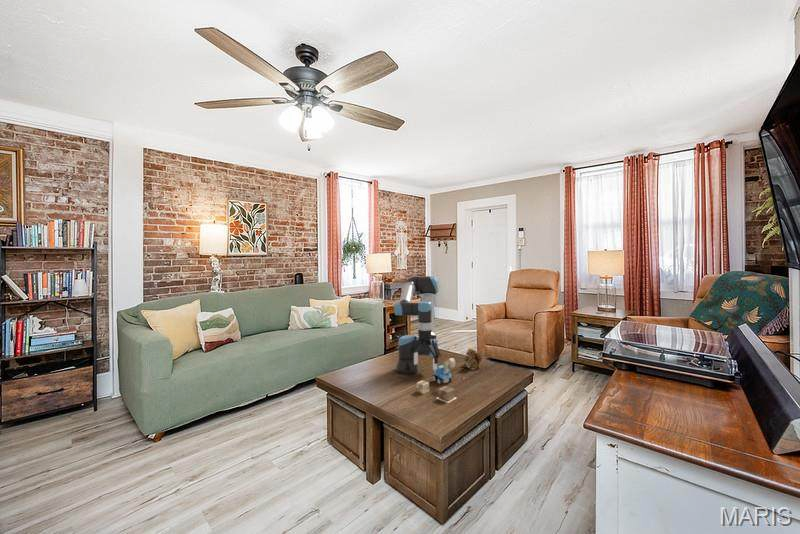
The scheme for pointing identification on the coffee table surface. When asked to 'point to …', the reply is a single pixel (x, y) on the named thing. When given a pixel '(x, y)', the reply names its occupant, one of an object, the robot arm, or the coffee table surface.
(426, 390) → the maple block
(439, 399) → the pad
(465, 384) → the coffee table surface
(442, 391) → the walnut block
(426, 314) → the robot arm
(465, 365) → the stuffed squirrel
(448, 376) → the toy excavator
